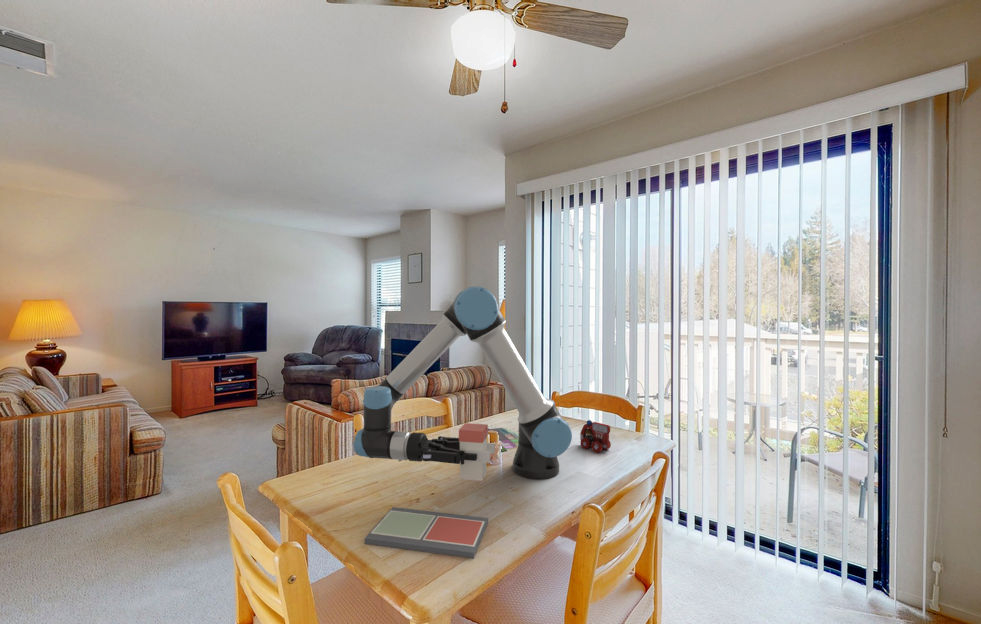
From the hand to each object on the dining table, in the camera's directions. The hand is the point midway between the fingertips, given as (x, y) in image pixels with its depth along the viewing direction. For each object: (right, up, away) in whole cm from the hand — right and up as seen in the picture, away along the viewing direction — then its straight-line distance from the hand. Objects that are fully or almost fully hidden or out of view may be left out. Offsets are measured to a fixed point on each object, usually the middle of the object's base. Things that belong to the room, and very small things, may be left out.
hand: (492, 452), depth 113 cm
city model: (+1, -14, +53) cm, 55 cm away
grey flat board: (-15, -14, -13) cm, 24 cm away
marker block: (-5, -7, +1) cm, 8 cm away
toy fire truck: (+39, -15, +48) cm, 63 cm away
